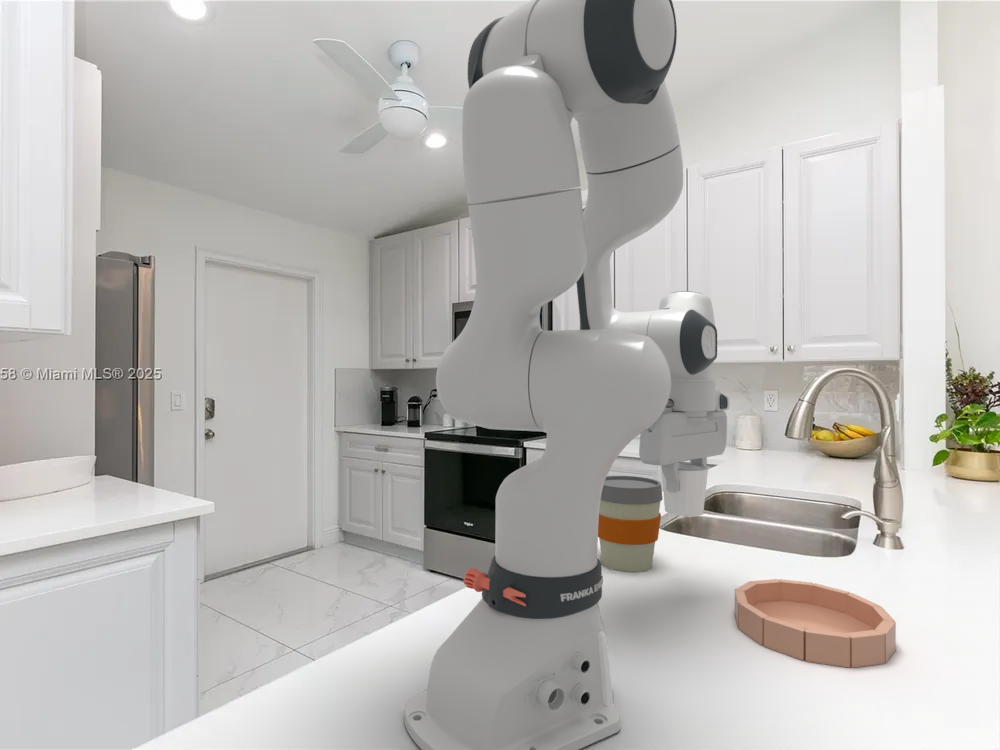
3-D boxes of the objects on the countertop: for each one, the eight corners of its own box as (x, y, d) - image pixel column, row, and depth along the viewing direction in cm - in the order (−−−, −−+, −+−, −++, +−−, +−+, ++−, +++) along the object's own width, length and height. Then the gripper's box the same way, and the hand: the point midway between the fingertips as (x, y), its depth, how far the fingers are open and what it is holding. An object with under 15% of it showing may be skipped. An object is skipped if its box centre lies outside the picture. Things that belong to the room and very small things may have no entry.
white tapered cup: (710, 518, 79) (711, 471, 79) (662, 515, 81) (662, 468, 81) (704, 507, 86) (705, 463, 86) (659, 505, 88) (660, 461, 88)
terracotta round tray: (869, 684, 60) (869, 652, 60) (712, 627, 74) (712, 602, 74) (908, 633, 72) (908, 607, 72) (767, 593, 86) (767, 570, 86)
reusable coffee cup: (677, 566, 98) (677, 483, 98) (629, 581, 91) (629, 491, 91) (624, 548, 108) (625, 473, 108) (578, 560, 101) (578, 479, 101)
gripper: (667, 401, 74) (667, 502, 74) (734, 398, 88) (734, 483, 88) (628, 399, 79) (628, 494, 79) (698, 397, 93) (697, 478, 93)
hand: (684, 488), depth 84 cm, fingers closed on white tapered cup, 5 cm apart
